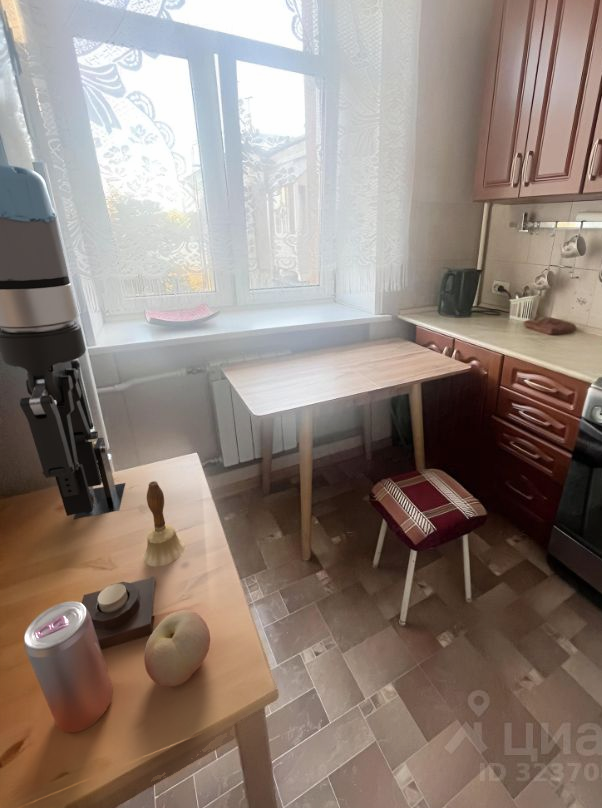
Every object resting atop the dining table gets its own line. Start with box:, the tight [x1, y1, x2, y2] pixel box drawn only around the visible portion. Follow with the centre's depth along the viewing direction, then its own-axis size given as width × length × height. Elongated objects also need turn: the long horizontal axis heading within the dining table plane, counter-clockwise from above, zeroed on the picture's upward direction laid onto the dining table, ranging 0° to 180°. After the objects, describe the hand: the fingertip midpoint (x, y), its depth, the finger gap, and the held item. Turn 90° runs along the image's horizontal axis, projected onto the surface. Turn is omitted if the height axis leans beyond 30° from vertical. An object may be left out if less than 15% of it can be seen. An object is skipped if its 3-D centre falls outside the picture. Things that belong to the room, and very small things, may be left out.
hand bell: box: [142, 480, 185, 567], centre depth 69 cm, size 8×8×16 cm
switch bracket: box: [73, 437, 126, 520], centre depth 81 cm, size 10×8×15 cm
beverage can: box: [23, 601, 114, 733], centre depth 46 cm, size 6×6×15 cm
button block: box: [80, 576, 157, 651], centre depth 59 cm, size 10×9×4 cm
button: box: [98, 583, 128, 613], centre depth 58 cm, size 4×4×2 cm
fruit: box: [143, 609, 211, 688], centre depth 53 cm, size 8×8×8 cm
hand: (85, 497), depth 52 cm, fingers open, 5 cm apart
